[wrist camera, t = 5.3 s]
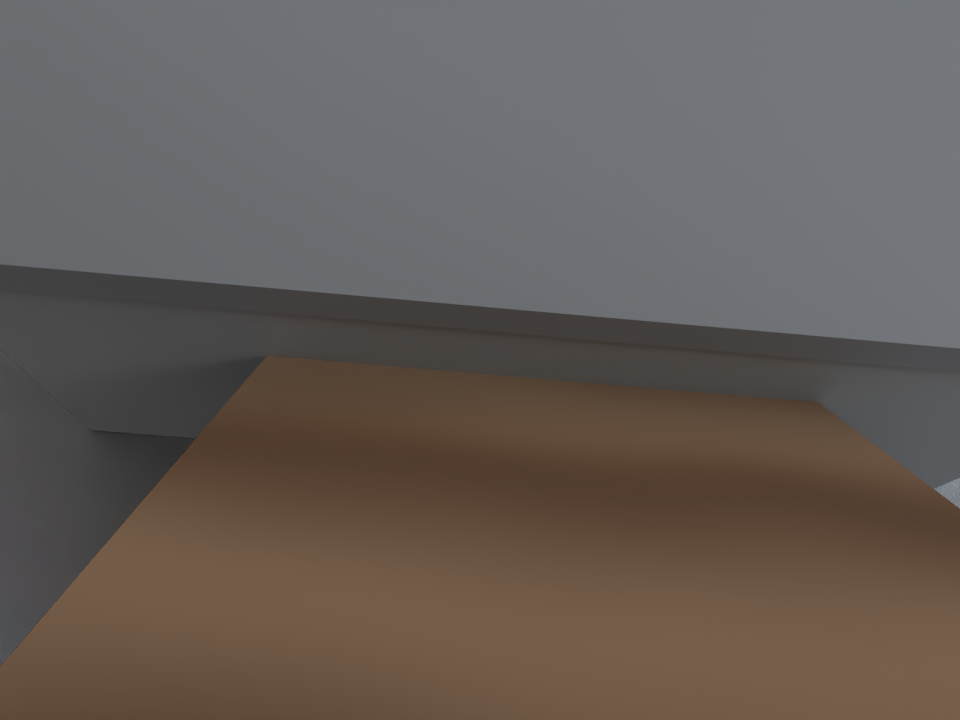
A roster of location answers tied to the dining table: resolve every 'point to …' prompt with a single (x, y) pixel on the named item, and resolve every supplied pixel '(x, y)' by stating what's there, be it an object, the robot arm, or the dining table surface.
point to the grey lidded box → (487, 200)
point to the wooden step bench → (509, 563)
